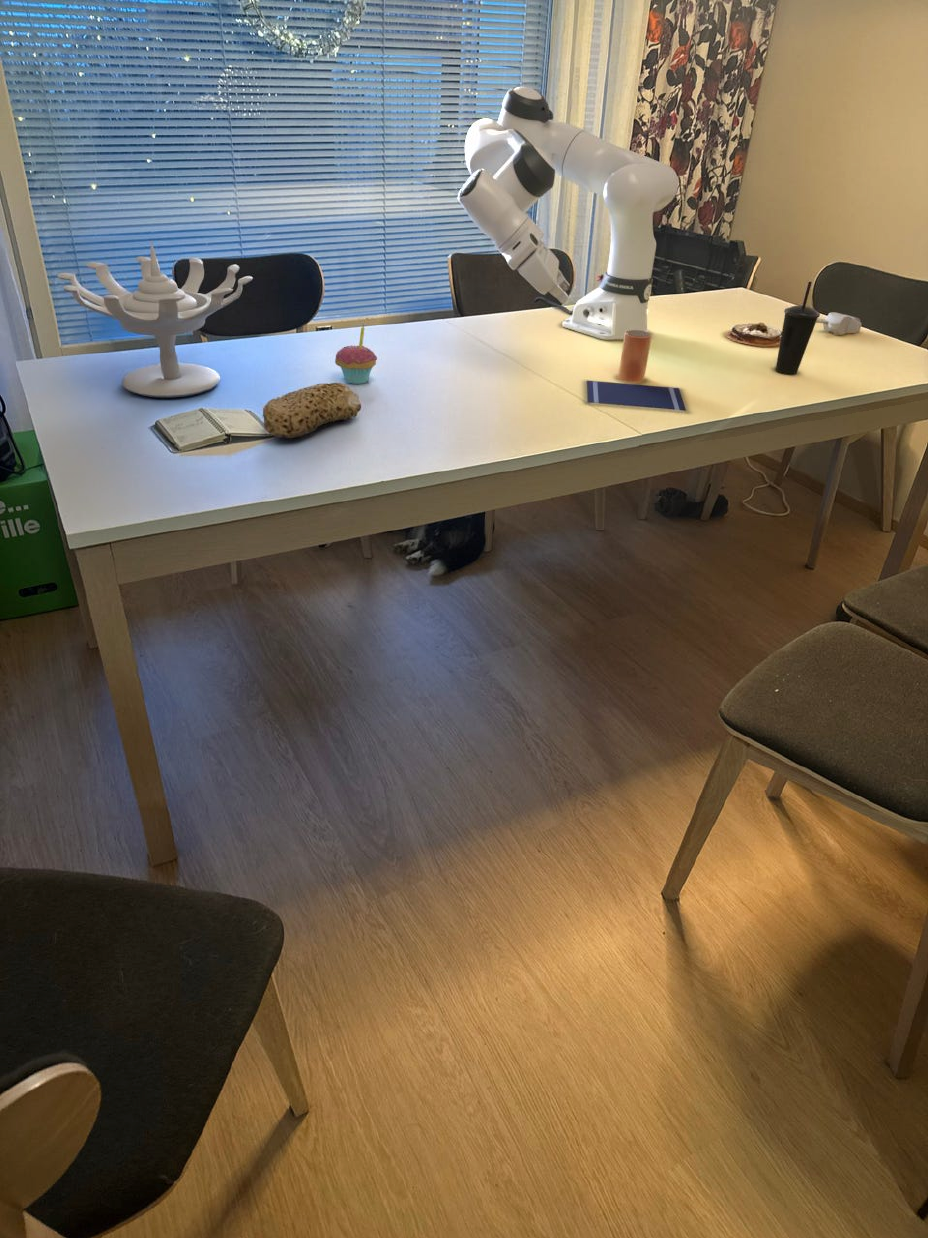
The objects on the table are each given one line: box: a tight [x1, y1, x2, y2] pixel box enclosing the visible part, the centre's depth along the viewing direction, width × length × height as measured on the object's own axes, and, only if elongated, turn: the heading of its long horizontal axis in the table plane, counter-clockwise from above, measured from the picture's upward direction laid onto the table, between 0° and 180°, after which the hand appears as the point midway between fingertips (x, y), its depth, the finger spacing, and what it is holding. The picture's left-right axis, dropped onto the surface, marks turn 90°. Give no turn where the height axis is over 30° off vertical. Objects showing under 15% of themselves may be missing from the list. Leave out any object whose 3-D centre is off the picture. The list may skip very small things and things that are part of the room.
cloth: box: [586, 380, 687, 412], centre depth 176 cm, size 20×14×1 cm
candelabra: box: [56, 241, 253, 399], centre depth 161 cm, size 34×35×27 cm
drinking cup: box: [775, 281, 821, 376], centre depth 190 cm, size 8×8×20 cm
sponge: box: [262, 382, 362, 439], centre depth 151 cm, size 13×8×20 cm
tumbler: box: [617, 330, 653, 383], centre depth 182 cm, size 6×6×10 cm
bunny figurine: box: [815, 311, 863, 336], centre depth 226 cm, size 10×5×15 cm
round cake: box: [725, 322, 782, 347], centre depth 217 cm, size 15×15×4 cm
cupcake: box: [334, 323, 378, 385], centre depth 172 cm, size 9×8×12 cm
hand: (566, 294), depth 176 cm, fingers open, 8 cm apart
